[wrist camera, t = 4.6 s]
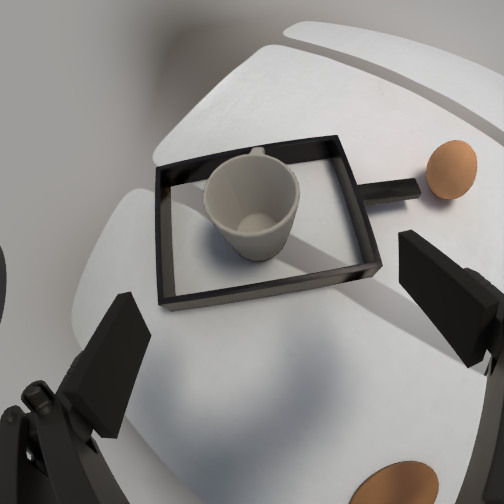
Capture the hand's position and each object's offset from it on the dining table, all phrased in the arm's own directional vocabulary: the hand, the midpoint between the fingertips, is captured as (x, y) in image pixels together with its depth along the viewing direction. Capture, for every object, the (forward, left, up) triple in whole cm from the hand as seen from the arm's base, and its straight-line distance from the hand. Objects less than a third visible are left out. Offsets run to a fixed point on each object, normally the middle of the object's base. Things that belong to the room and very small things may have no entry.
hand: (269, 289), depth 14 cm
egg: (+22, +11, -15) cm, 29 cm away
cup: (0, +10, -15) cm, 18 cm away
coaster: (+9, -22, -15) cm, 28 cm away
